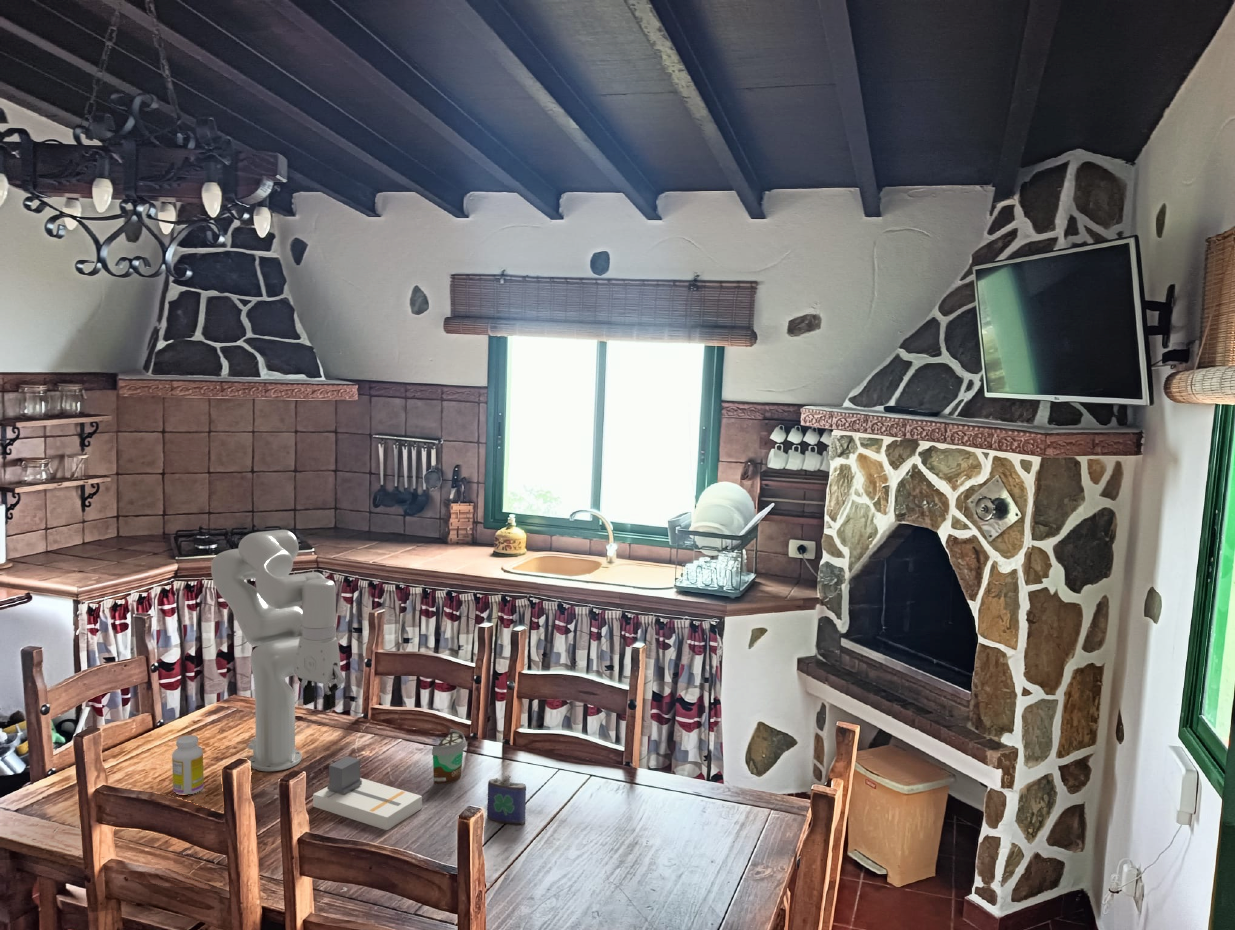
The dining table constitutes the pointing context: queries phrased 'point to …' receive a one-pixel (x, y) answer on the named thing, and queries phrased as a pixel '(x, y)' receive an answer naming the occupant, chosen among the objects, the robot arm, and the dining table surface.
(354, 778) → the fader tab
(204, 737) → the dining table surface
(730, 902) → the dining table surface
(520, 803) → the flask
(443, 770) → the food container
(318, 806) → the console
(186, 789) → the supplement bottle
